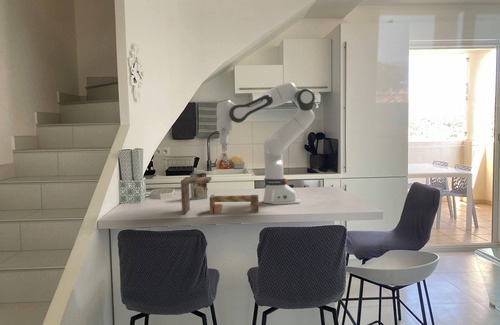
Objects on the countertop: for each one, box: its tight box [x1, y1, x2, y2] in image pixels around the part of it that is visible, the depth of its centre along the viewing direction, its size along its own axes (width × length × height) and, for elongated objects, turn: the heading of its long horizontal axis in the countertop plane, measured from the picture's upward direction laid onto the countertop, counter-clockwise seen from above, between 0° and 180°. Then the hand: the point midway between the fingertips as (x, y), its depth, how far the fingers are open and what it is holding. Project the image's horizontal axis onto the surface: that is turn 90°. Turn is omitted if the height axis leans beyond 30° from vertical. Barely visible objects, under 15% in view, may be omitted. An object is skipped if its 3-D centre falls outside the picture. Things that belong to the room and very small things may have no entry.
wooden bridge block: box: [209, 194, 260, 215], centre depth 215 cm, size 26×9×8 cm, turn 88°
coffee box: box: [189, 172, 208, 200], centre depth 258 cm, size 9×6×16 cm
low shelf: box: [180, 176, 212, 216], centre depth 216 cm, size 14×14×18 cm
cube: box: [213, 203, 223, 214], centre depth 216 cm, size 4×4×4 cm
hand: (224, 151), depth 240 cm, fingers open, 8 cm apart
